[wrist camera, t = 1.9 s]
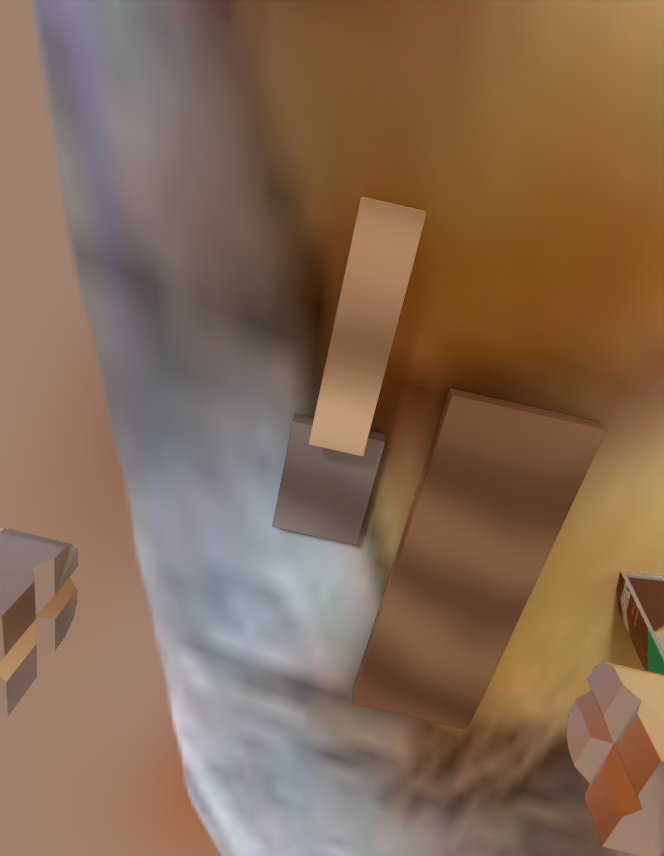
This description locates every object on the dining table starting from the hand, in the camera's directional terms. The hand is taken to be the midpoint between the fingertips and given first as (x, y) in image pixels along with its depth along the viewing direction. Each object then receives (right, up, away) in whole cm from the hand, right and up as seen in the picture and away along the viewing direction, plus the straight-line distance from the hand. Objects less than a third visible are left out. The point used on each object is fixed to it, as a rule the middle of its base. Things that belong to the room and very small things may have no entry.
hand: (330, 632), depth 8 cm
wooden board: (+7, -5, +20) cm, 22 cm away
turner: (+1, +5, +17) cm, 18 cm away
